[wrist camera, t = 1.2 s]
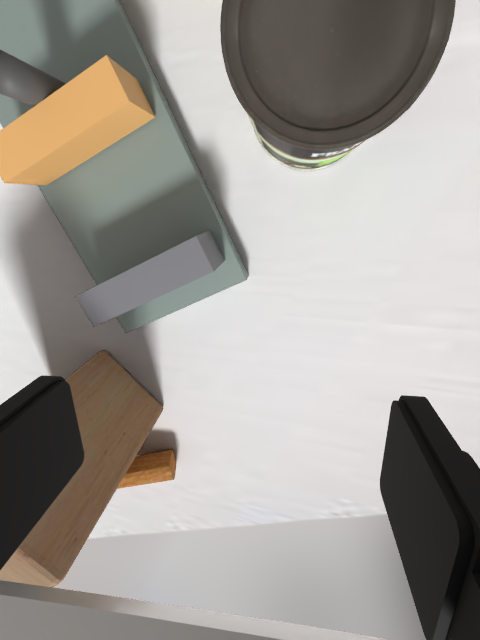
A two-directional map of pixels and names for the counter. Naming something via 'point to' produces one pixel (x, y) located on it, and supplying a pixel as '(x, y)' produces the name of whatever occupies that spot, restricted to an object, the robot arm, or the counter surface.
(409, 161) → the counter surface
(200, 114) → the counter surface
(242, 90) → the coffee can
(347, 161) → the counter surface
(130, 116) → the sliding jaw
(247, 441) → the counter surface
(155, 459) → the hammer
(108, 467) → the wooden block
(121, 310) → the vise
